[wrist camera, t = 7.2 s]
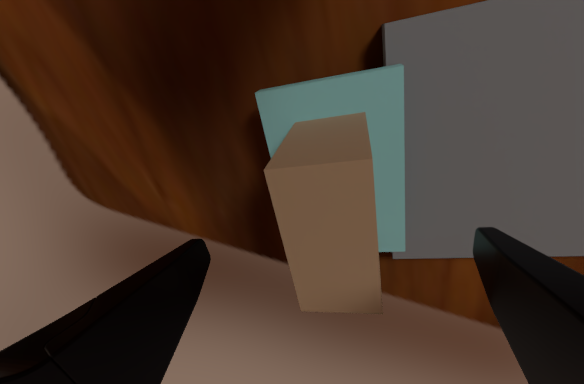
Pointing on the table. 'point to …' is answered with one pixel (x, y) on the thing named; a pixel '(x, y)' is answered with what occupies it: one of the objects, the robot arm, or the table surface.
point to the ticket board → (492, 125)
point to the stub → (337, 183)
